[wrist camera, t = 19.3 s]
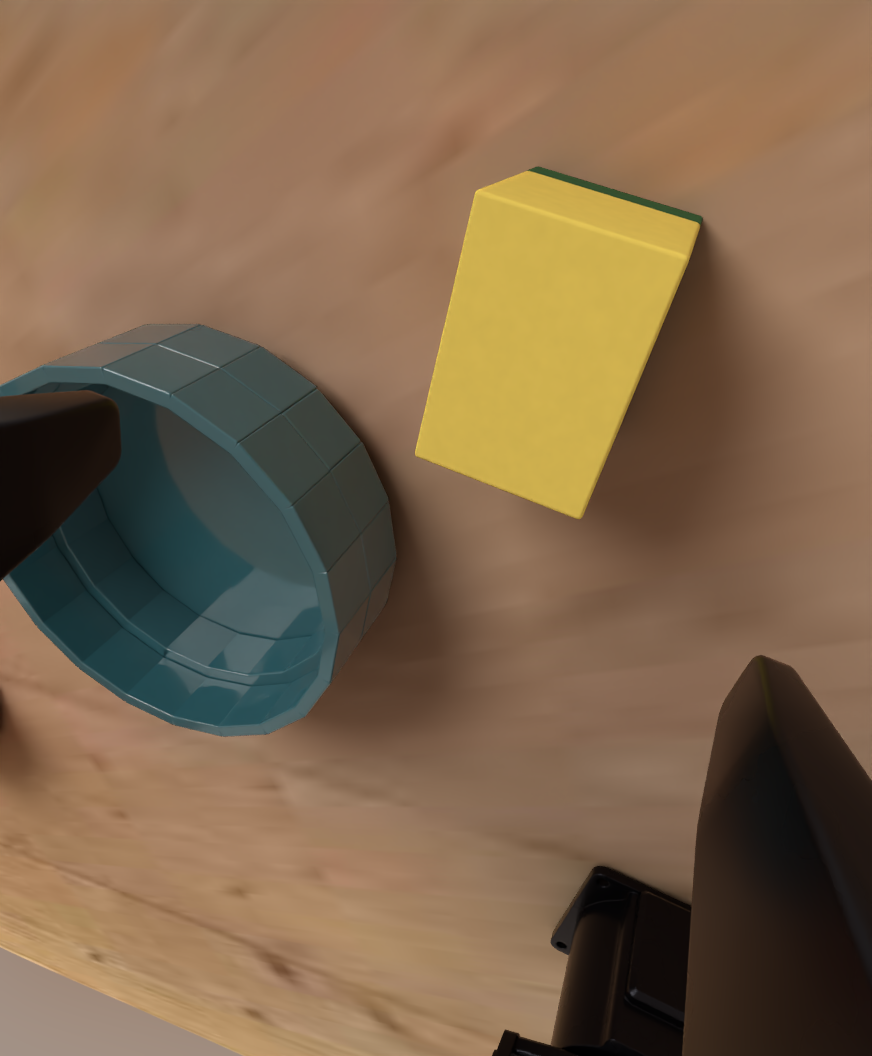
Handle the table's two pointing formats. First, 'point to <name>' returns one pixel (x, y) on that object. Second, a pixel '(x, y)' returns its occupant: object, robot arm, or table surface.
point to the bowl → (212, 534)
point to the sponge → (550, 332)
